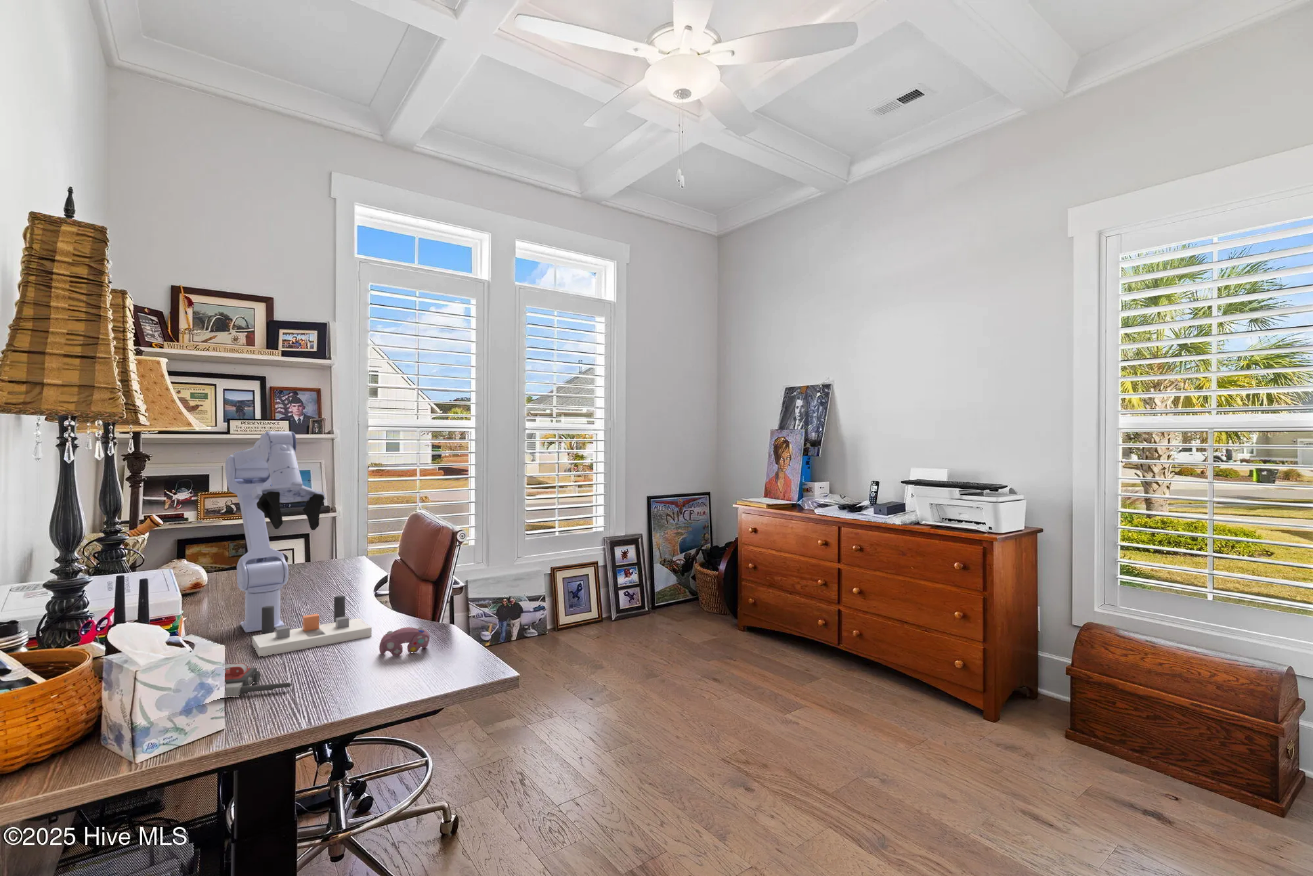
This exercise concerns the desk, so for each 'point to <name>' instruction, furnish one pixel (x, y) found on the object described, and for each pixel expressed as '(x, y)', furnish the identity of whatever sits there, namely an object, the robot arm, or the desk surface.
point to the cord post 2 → (339, 607)
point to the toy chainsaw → (245, 680)
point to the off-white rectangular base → (310, 636)
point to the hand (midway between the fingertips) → (297, 527)
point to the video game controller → (404, 640)
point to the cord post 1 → (267, 619)
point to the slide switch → (310, 622)
